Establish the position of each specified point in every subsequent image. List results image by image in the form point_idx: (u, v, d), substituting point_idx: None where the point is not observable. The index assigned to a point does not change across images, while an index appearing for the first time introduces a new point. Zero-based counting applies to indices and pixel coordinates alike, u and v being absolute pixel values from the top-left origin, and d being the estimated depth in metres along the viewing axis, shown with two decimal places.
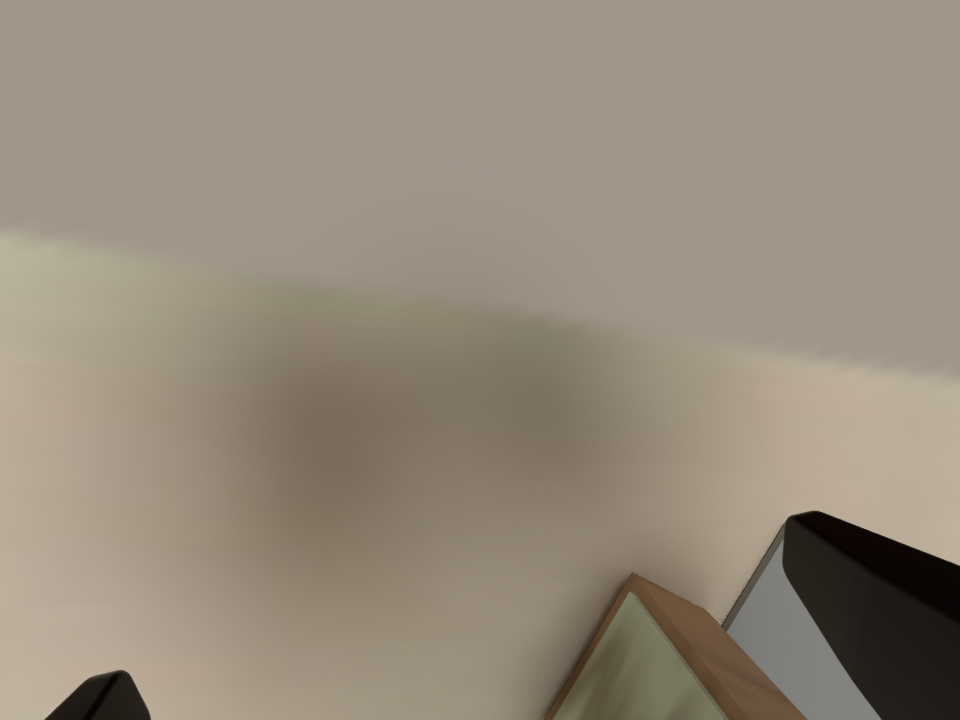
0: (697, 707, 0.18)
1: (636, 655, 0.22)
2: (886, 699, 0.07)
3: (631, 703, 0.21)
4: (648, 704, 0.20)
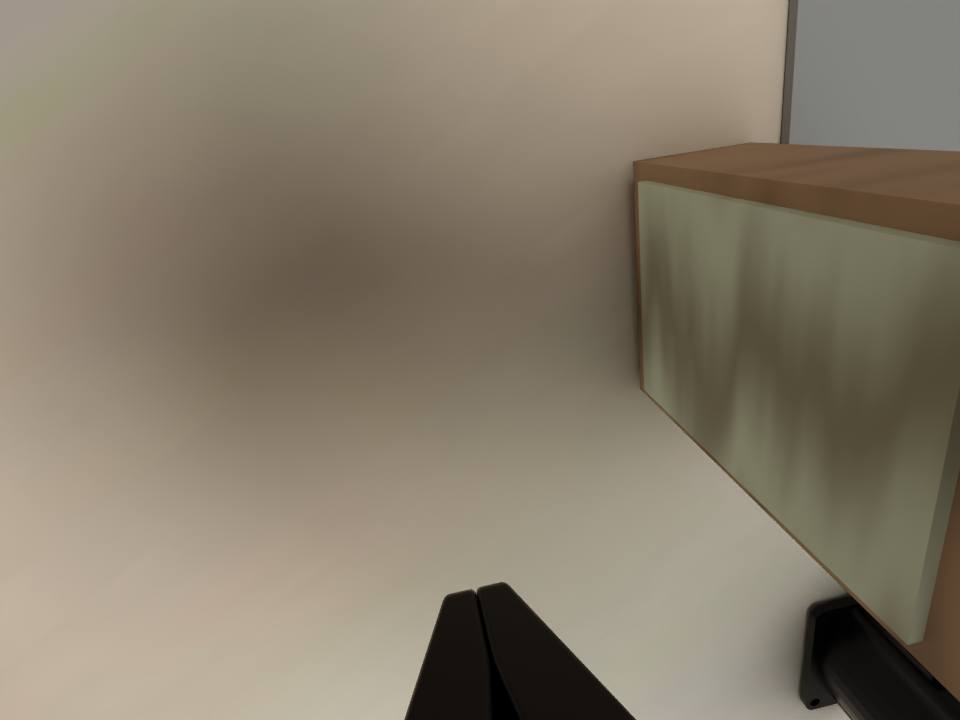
0: (761, 231, 0.12)
1: (676, 239, 0.16)
2: None
3: (697, 292, 0.15)
4: (712, 277, 0.15)
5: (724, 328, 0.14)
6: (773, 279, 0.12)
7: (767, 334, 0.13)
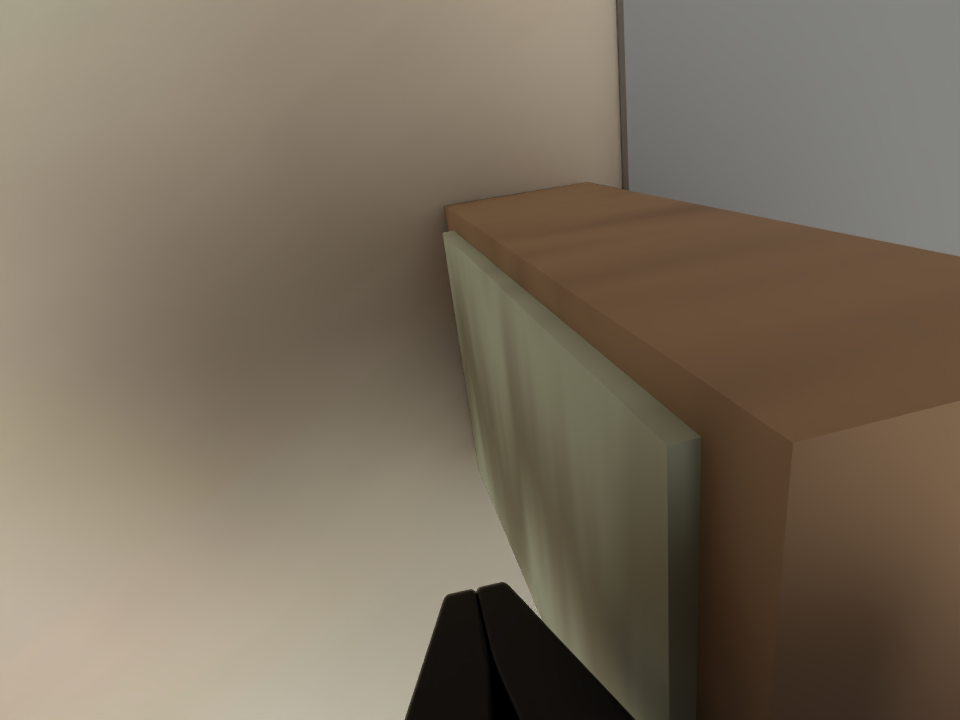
0: (511, 324, 0.09)
1: (469, 309, 0.13)
2: None
3: (488, 377, 0.12)
4: (493, 365, 0.12)
5: (507, 430, 0.11)
6: (526, 388, 0.09)
7: (532, 454, 0.10)
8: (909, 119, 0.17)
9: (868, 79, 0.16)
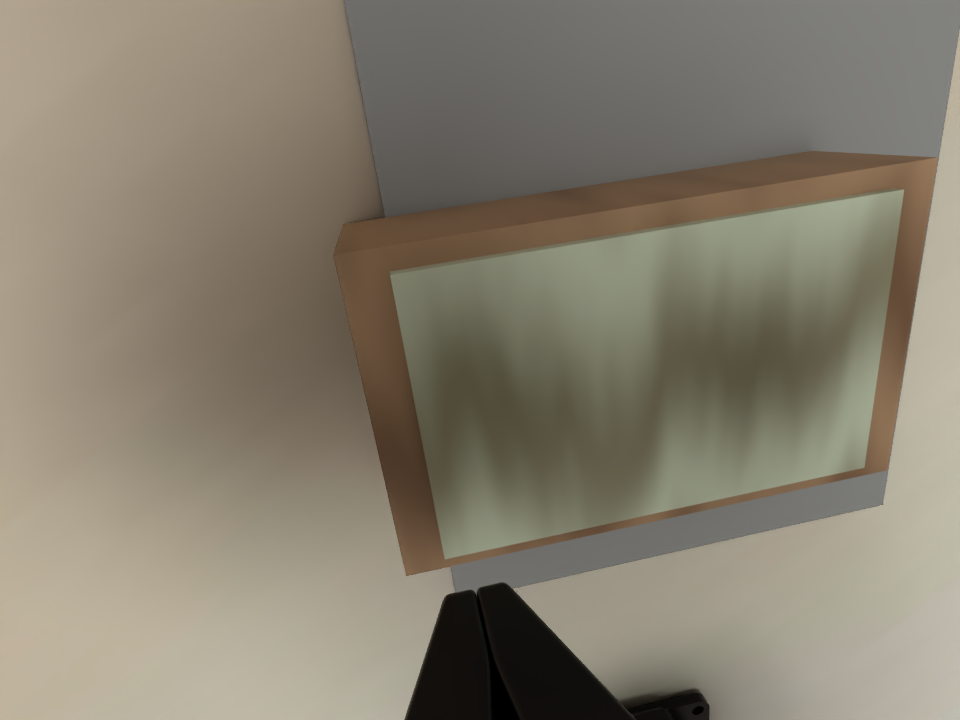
0: (691, 248, 0.12)
1: (520, 317, 0.12)
2: None
3: (576, 360, 0.13)
4: (608, 329, 0.13)
5: (635, 373, 0.13)
6: (712, 286, 0.13)
7: (706, 341, 0.13)
8: (687, 155, 0.16)
9: (636, 113, 0.15)
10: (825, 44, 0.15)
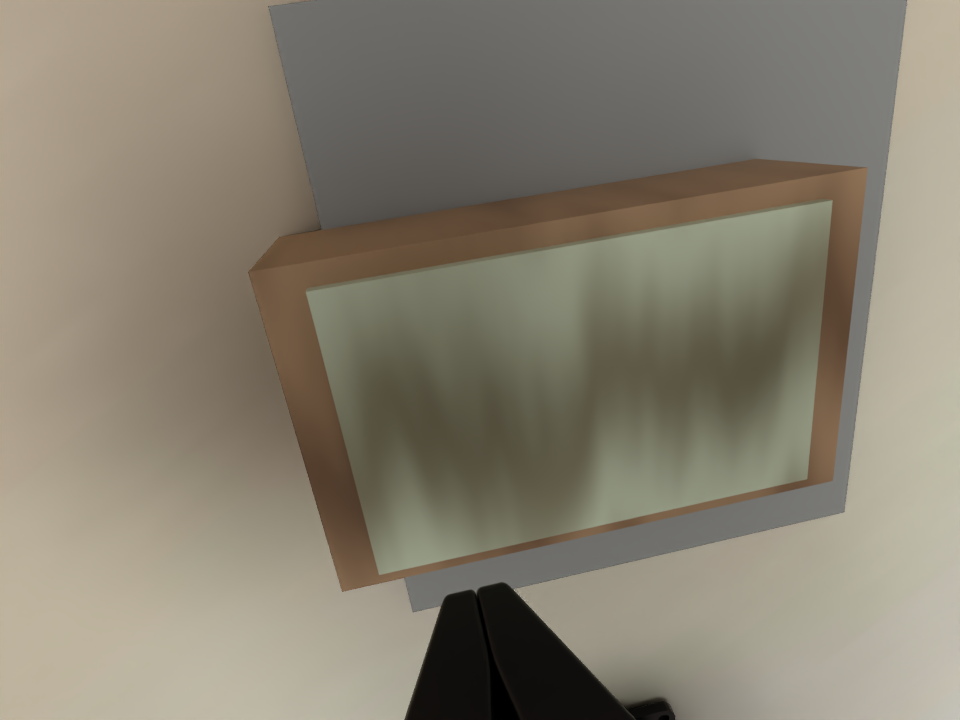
0: (616, 261, 0.12)
1: (443, 332, 0.12)
2: None
3: (503, 375, 0.13)
4: (534, 343, 0.12)
5: (565, 387, 0.13)
6: (639, 299, 0.12)
7: (637, 355, 0.13)
8: (628, 164, 0.16)
9: (575, 123, 0.15)
10: (765, 51, 0.15)
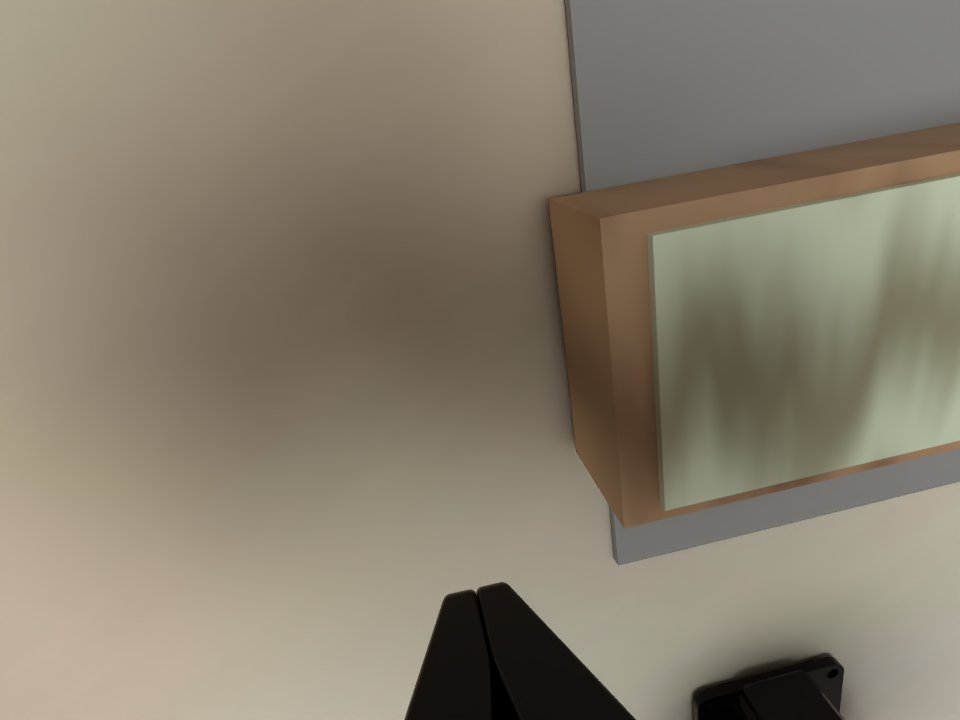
0: (921, 205, 0.13)
1: (761, 274, 0.13)
2: None
3: (806, 315, 0.14)
4: (838, 285, 0.13)
5: (856, 327, 0.14)
6: (935, 242, 0.13)
7: (924, 296, 0.14)
8: (866, 125, 0.17)
9: (823, 86, 0.16)
10: None
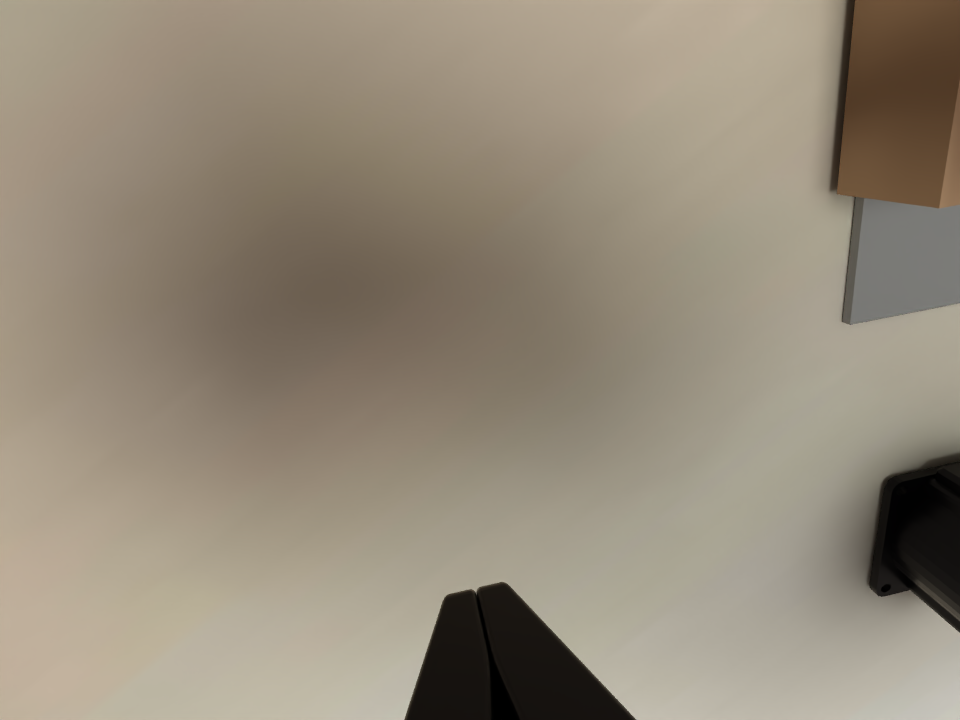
0: None
1: None
2: None
3: None
4: None
5: None
6: None
7: None
8: None
9: None
10: None
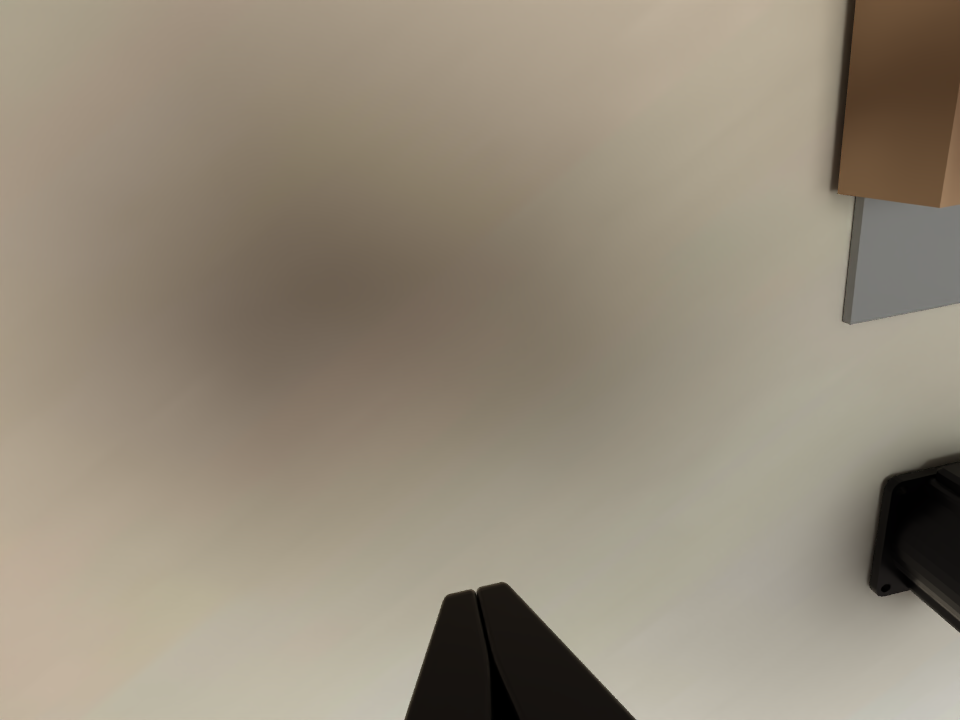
0: None
1: None
2: None
3: None
4: None
5: None
6: None
7: None
8: None
9: None
10: None
